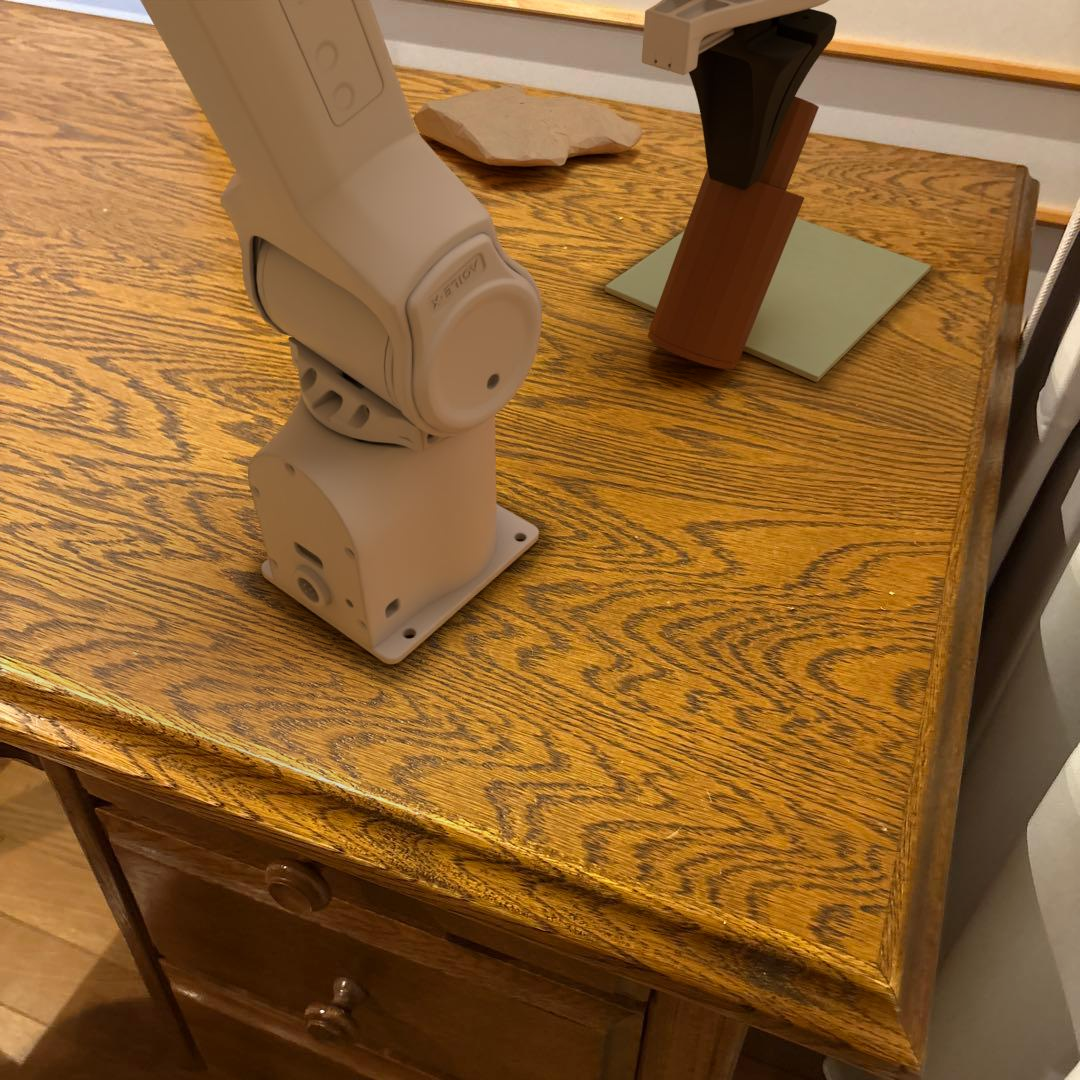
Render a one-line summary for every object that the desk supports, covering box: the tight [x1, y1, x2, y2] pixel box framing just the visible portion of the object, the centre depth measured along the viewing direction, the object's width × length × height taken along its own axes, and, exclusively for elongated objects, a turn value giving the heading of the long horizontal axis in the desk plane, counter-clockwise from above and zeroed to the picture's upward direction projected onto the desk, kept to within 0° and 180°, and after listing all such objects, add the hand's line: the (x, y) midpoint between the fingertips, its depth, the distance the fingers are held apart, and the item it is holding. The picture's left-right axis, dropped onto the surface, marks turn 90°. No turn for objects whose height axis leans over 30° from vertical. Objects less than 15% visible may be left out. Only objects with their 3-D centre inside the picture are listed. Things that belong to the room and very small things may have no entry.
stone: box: [412, 83, 644, 168], centre depth 71 cm, size 14×4×15 cm
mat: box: [604, 217, 932, 383], centre depth 60 cm, size 15×14×1 cm
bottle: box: [647, 96, 819, 370], centre depth 50 cm, size 5×5×13 cm
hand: (733, 179), depth 47 cm, fingers closed, pressing on bottle
